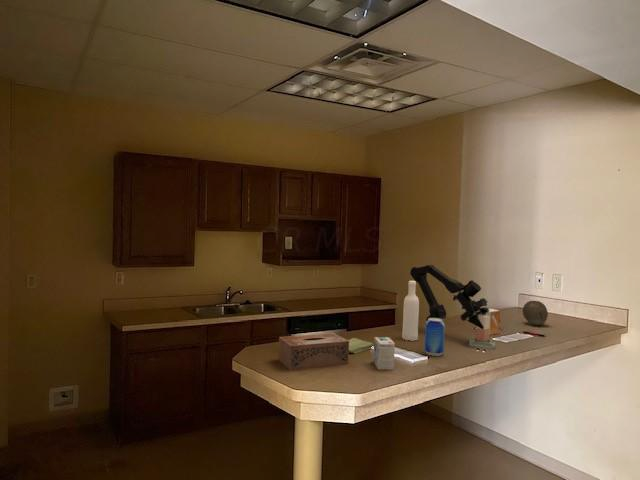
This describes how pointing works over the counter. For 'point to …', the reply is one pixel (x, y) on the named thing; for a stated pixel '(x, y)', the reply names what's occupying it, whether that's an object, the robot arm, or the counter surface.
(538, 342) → the counter surface
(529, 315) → the cantaloupe
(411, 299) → the bottle
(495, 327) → the small box
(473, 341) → the baseplate
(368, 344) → the washcloth
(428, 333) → the beer can
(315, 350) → the tissue box cover
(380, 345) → the light bulb box
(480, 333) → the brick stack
